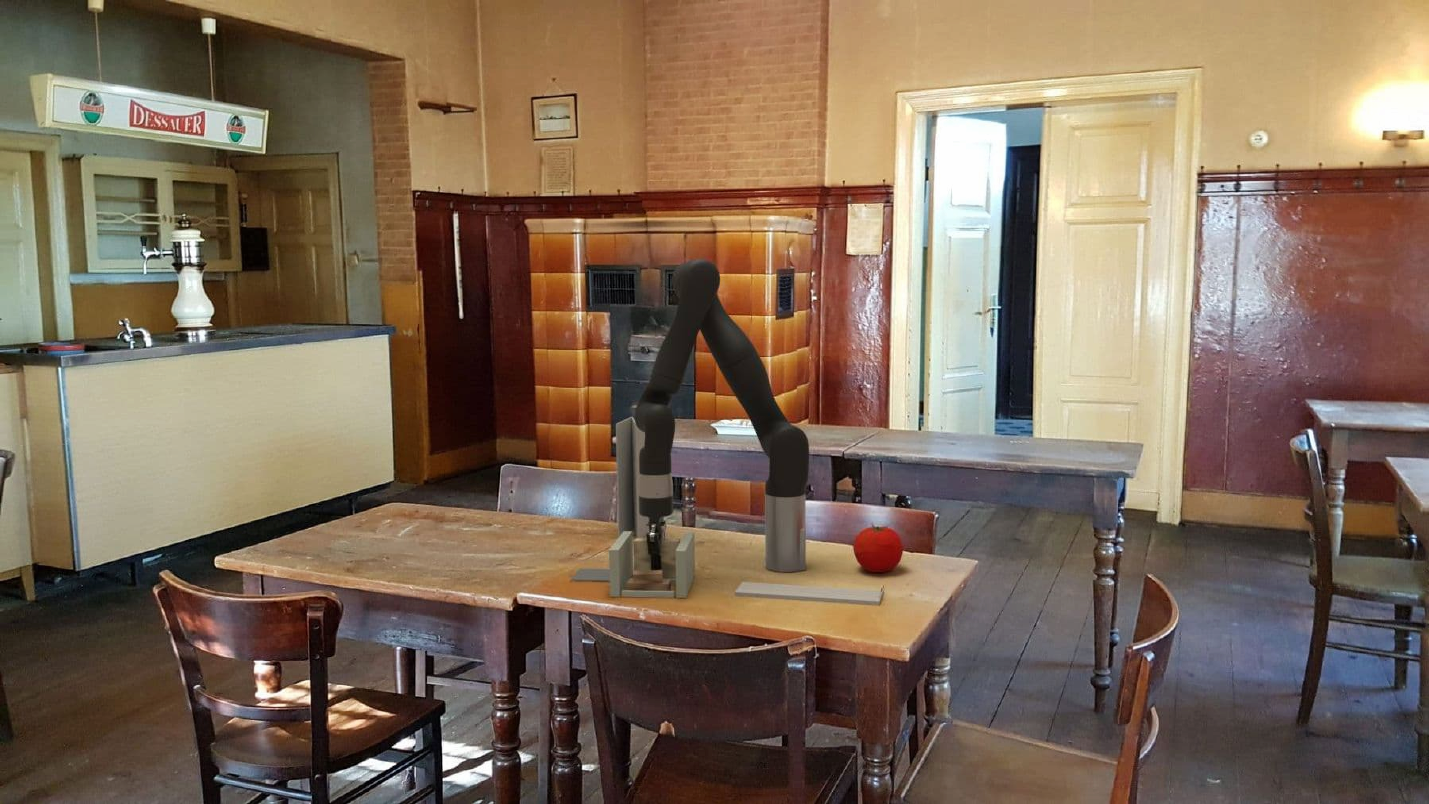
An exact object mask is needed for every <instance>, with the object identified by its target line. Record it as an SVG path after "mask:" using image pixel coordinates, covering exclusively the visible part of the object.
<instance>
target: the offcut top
mask: <svg viewBox="0 0 1429 804" xmlns="http://www.w3.org/2000/svg"><path fill="white" fill-rule="evenodd" d="M633 578H634V584H646V583H662V570H645V571H634V570H633Z"/></svg>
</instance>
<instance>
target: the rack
mask: <svg viewBox="0 0 1429 804" xmlns="http://www.w3.org/2000/svg"><path fill="white" fill-rule="evenodd" d="M695 549H696V548H695V531H694V532H693V531H692V532H691V531H689V532H688V531H685V532H684V534H683V536H682V538H681V539H680V543H679V545H678V547H677V549H676V579H662V580H671V584H672V583H676V584H675V590H671V591H641V590H626V587H625V586H626V583H627V581H628V580H629V579H630V578H631V577H632V578H631V579H634V577H633V576H634V539H633V531H632V530H631V531H623V533H622V534H621V535H620V537H619V538H618V537H617V539H616V540H615V541H614V543H613V544H612V545H611V547H610V548H609V549H608V565H609V567H608V569H609V572H610V582H609V597H612V598H613V597H614V598H615V597H616V598H619V597H621V598H656V599H657V598H660V599H661V598H662V599H663V598H666V599H672V598H673V599H674V598H676V599H687V596H688V594H689V592H688V591H690V589H691V587H690V586H692V584H693V581H694V579H695V577H696V567H695V566H696V565H695V564H696V562H695V561H696V560H695V559H696V558H695V554H696V553H695ZM632 575H633V576H632ZM675 594H676V595H675Z"/></svg>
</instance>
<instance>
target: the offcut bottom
mask: <svg viewBox="0 0 1429 804" xmlns="http://www.w3.org/2000/svg"><path fill="white" fill-rule="evenodd" d="M625 590H641V591H672V583H671V580H662V583H646V584H634V579H629V580H628V581H627V583H626V587H625Z"/></svg>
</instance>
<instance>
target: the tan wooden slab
mask: <svg viewBox="0 0 1429 804" xmlns="http://www.w3.org/2000/svg"><path fill="white" fill-rule="evenodd" d="M660 540H661V539H660ZM660 540H659V541H660ZM680 542H681V538H666V539H664V543H663V545H661V552H662V554H661V570H662V579H676V549H677V547H678V545H679V543H680ZM653 549H657V548H655V547H653ZM645 570H651V556H650V555H649V554H648V546H647V538H644V537H643V538H637V537H636V538H634V539H633V572H634V571H645Z"/></svg>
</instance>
